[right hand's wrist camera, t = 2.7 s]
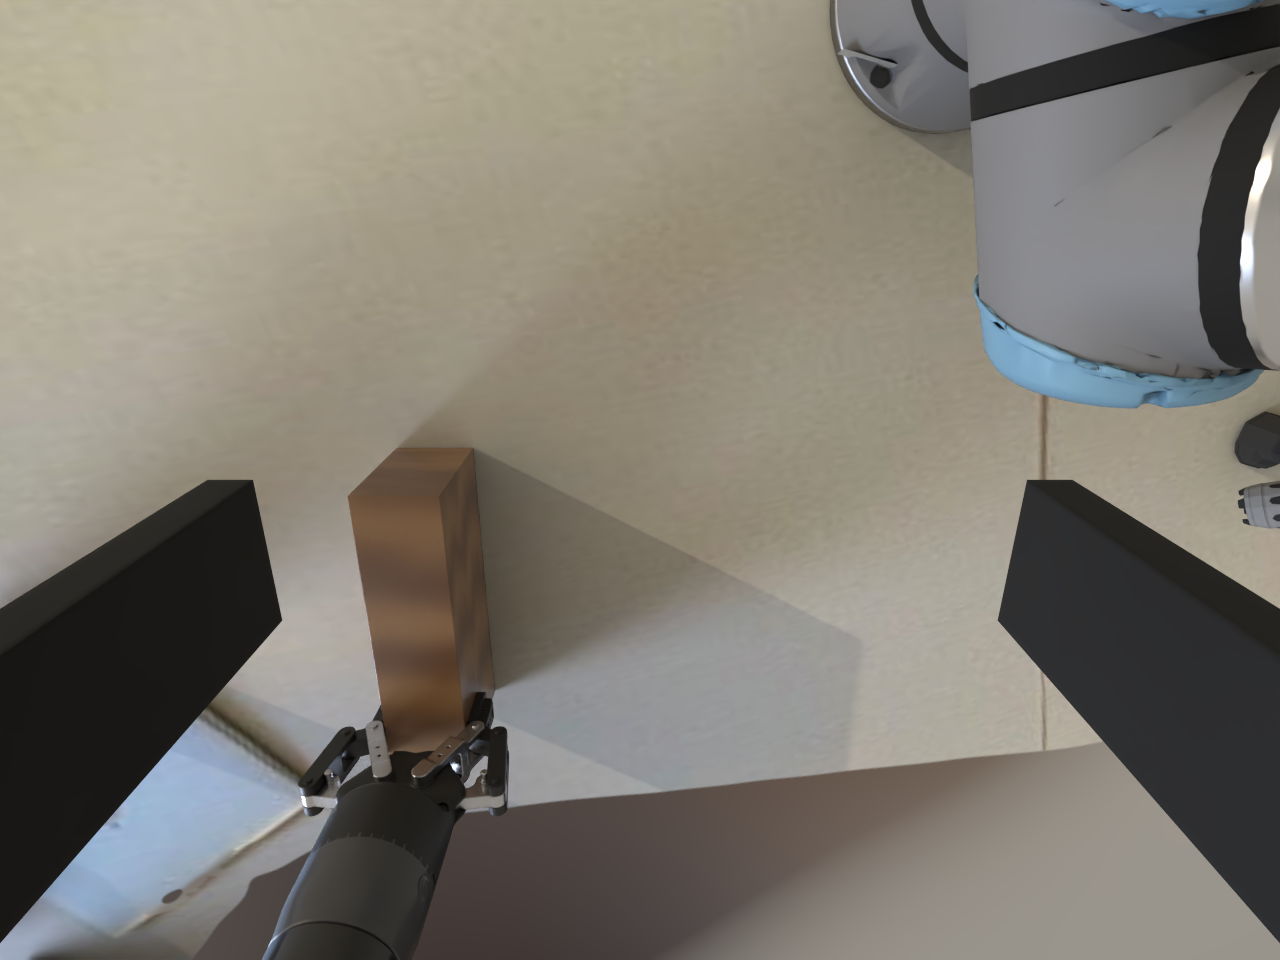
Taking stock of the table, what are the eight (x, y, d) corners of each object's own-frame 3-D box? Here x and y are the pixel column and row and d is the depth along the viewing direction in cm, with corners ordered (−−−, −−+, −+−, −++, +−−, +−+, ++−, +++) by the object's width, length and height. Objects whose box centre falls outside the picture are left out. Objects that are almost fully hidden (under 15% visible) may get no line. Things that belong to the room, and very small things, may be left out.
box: (396, 447, 54) (347, 495, 45) (473, 447, 54) (439, 495, 45) (428, 691, 62) (391, 774, 53) (494, 691, 62) (469, 774, 53)
